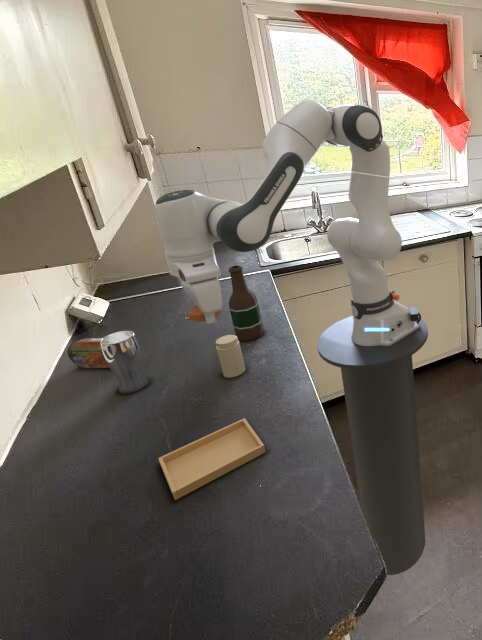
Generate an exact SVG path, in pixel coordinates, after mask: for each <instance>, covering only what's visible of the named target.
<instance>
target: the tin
mask: <svg viewBox="0 0 482 640" xmlns="http://www.w3.org/2000/svg"><path fill="white" fill-rule="evenodd" d="M102 338H103V337H89V338H87V337H86V338H82V339H79V340H77V341H75V342H73V343H71V344H70V345H69V346H68V347H67V357H68V358H69V361H71V362H72V363H73V364H74V365H75V366H77V367H79V368H82V369H110V367H109V366H108V364H107V362H106V360H105V358H104V355H103V352H102V348H101V344H100V340H101V339H102Z"/></svg>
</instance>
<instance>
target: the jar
mask: <svg viewBox="0 0 482 640" xmlns="http://www.w3.org/2000/svg"><path fill="white" fill-rule="evenodd" d="M215 344H216V346H215V349H216V354H217V357H218V361H219V364H220V368H221V373H222V376H223V377H224V378H228V379H229V378H236V377H238V376H240V375H242V374H243V373H245V372H246V370H247V369H246V364H245V360H244V356H243V352H242V347H241V343H240V340H239V339H238V338H237V336H236V334H225V335H223V336H221V337H218V338H217V339H216V340H215Z"/></svg>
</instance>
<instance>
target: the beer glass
mask: <svg viewBox="0 0 482 640" xmlns="http://www.w3.org/2000/svg"><path fill="white" fill-rule="evenodd" d="M101 338H102V339H101V340H100V344H101V348H102V352H103V355H104V358H105V360H106V362H107V364H108V366H109V367H110V368H109V369H110V371H111V372H112V373H113V374H114V376H115V378H116V379H117V386H118V391H119V393H121V394H131V393H135V392H138V391H140V390H142V389H144V388H145V387H147V386H148V385H149V384H150V380H149V378H148V376H147V375H146V374H145V371H144V368H143V366H144V365H143V355H142V349H141V345H140V343H139V341H138V338H137V336H136V334H135V331H133V330H121V331H116V332H112V333H110V334H108V335H105V336H103V337H101Z"/></svg>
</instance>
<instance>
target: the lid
mask: <svg viewBox="0 0 482 640" xmlns="http://www.w3.org/2000/svg"><path fill="white" fill-rule="evenodd" d="M221 313H222V310H220V311H217V312H215V319H216V318H218V317H219V316H220V315H221ZM187 316H188V318H189V320H190V321H191V322H195V323H201V322H205V319H204V314H203V312H202V311H201V310H200V309H199V307H198V306H195V305H194V306H193V307H190V309H189V310H188V315H187Z"/></svg>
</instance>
